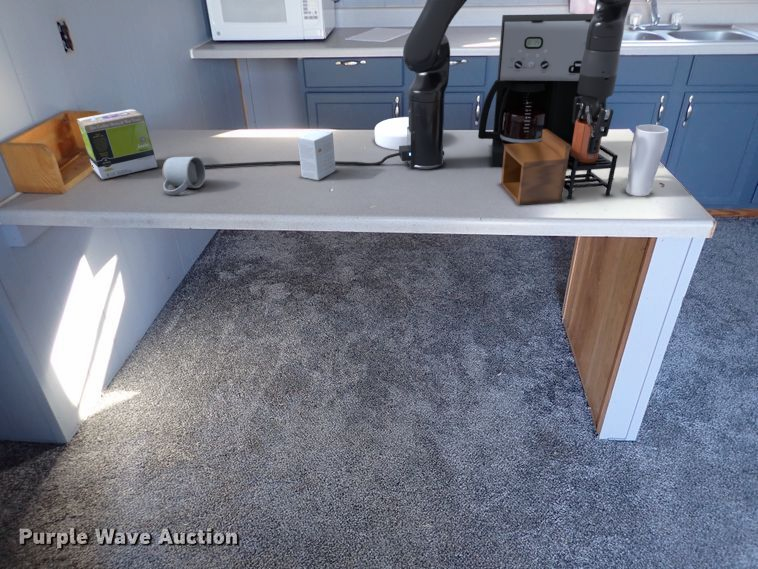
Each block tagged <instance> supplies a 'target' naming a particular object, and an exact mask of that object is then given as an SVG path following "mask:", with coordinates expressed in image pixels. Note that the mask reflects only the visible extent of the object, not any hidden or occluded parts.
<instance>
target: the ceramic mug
mask: <svg viewBox="0 0 758 569" xmlns="http://www.w3.org/2000/svg"><path fill="white" fill-rule="evenodd" d="M204 165H205V164H204V162H203V160H201V158H200V157H198V156H172V157H169V158H167V159H166V160H164V162H163V165H162V169H161V170H162V176H163V179H164V182H163V185H162V188H163V190H164V191H165V193H166V194H167V195H169V196H177V195H180V194H181V193H183V192H184V191H185V190H186V189H188V188H189V189H199V188H201V187H202V186H203V184H204V183H205V179H206V168H205V167H204ZM169 186H173V187H177V188H174V189H172V190H170V189H168V188H169Z"/></svg>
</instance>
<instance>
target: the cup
mask: <svg viewBox="0 0 758 569" xmlns="http://www.w3.org/2000/svg"><path fill="white" fill-rule="evenodd" d="M592 122H597V121H592ZM595 129H596V126H594V132H595ZM589 137H590V127H588V124H587V121H582V122H581V121H580V119H576V123H575V129H574V135H573V142H572V148H571V154H573V155H574V156H575V157H577V158H578V162H595V161H597V159H598V154H600V145H602V138H603V137H601V138H600V142H599V147H598V152H597V153H596V154H588V153H587V148H588V142H589Z"/></svg>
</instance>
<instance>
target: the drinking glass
mask: <svg viewBox="0 0 758 569" xmlns="http://www.w3.org/2000/svg"><path fill="white" fill-rule="evenodd" d="M669 131H670V130H669V128H667V127H665V126H663V125H660V124H659V125H658V124H648V123H646V124H639V125H636V126H635V129H634V131H633V132H634V133H633V137H632V141H631V145H630V155H629V162H628V163H629V164H628V170H627V178H626V184H625V192H626V193H627V194H628V195H631V196H635V197H646V196H648V195H650V193H651V191H652V188H653V184H654V180H655V179H656V178H655V177H656V176H657V172H658V169H659V166H660V163H661V161H662V157H663V155H664V151H665V148H666V145H667V140H668V136H669Z"/></svg>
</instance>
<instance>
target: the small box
mask: <svg viewBox="0 0 758 569" xmlns="http://www.w3.org/2000/svg"><path fill="white" fill-rule="evenodd" d="M297 146H298V154H299V161H300V164H299V165H300V172H301V173H300V174H301V177H302V178H305V179H309V180H314V181H320V180H322V179H324V178H325V177H327V176H329V175H331V174H333V173H335V172H336V164H335V161H336V158H335V144H334V133H333V132H332V131H325V130H320V129H314V130H313V131H310V132H308V133H305V134H303V135H301V136H299V137H297Z"/></svg>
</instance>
